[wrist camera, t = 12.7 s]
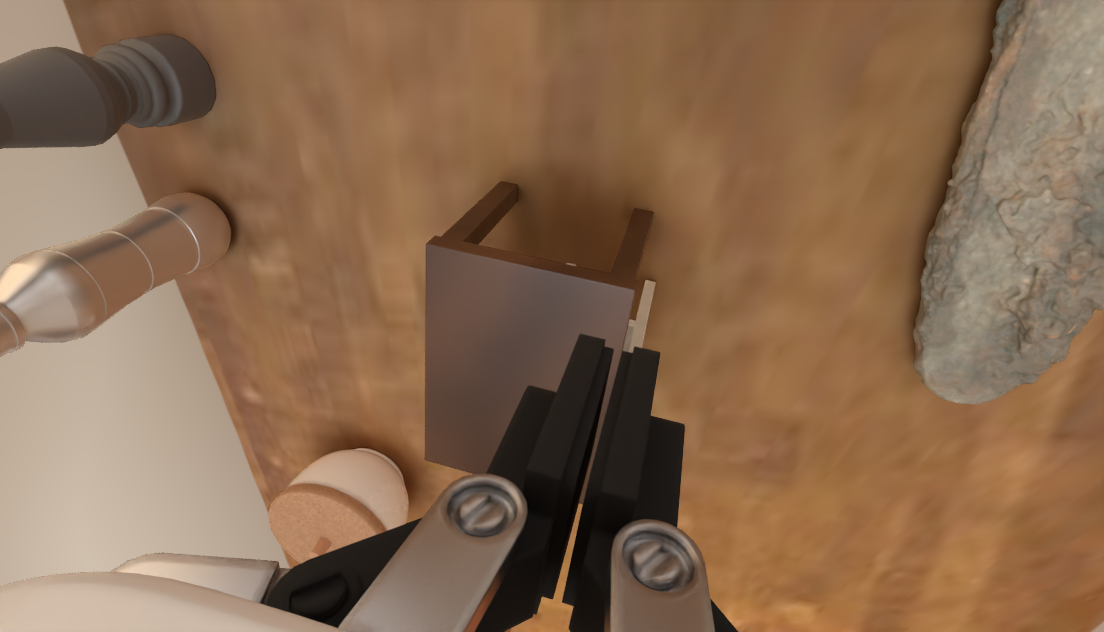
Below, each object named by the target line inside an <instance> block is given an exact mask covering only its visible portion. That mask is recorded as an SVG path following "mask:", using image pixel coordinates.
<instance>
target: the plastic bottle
mask: <svg viewBox="0 0 1104 632" xmlns="http://www.w3.org/2000/svg"><path fill="white" fill-rule="evenodd" d="M230 240H231V228H230V224H229V222H228V219H227V218H226V216H225V214H224V213H223V211H222V210H221V209H220V208H219V207H218V206H217V205H216V204H215V203H214V202H213V201H211V200H210V199H208V198H206V197H203V196H201V195H197V194H194V193H188V192H186V193H179V194H173V195H168V196H166V197H163V198H161V199H160V200H158V201H156V202H155V203H153V204H152V205H150V206H149V207H148V208H146V209H145V210H144V211H142V212H141V213H139V214H137V215H136V216H134V217H132V218H130V219H128V220H126V221H124V222H122V223H120V224H119V225H117V226H115V227H113V228H111V229H108V230H106V231H103V232H100V233H97V234H94V235H92V236H89V237H86V238H83V239H80V240H77V241H73V242H69V243H65V244H61V245H57V246H53V247H49V248H45V249H42V250H38V251H34V252H31V253H28V254H25V255H22V256H19V257H17V258H16V259H15V260H14V261H12V262H11V263H10V264H9V265H7V266H6V267H5V268H4V269H3V270H2V272H1V273H0V357H1V356H3V355H5V354H6V353H11V352H14V351H16V350H18V349H20V348H21V347H23V345H24V343H25V341H31V342H67V341H71V340H75V339H79V338H83V337H85V336H86V335H88V334H89V333H91V332H92V331H94V330H95V329H96V328H98V327H99V326H100V325H102V324H103V323H105V322H106V321H107V320H108V319H110V318H111V317H112V316H113V315H115V314H116V313H117V312H119V311H120V310H121V309H123V308H124V307H125V306H126V305H128V304H129V303H131V302H133V301H134V300H136V299H137V298H139V297H141V296H142V295H143V294H145V293H147V292H149V291H150V290H152V289H153V288H155V287H157V286H160V285H162V284H164V283H166V282H168V281H171V280H173V279H175V278H178V277H180V276H182V275H184V274H188V273H192V272H195V271H199V270H201V269H204V268H206V267H209V266H211V265H213V264H214V263H215V262H216V261H218V260H219V259H220V258H221V257H222V256H223V255H224V254H225V253H226V252H227V250H228V248H229V244H230Z"/></svg>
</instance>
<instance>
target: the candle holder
mask: <svg viewBox="0 0 1104 632" xmlns="http://www.w3.org/2000/svg"><path fill="white" fill-rule="evenodd" d="M215 98H216V95H215V81H214V79H213V76H212V73H211V71H210V68H209V65H208V64H207V62H206V61H205V60H204V58H203V57H202V55H201V54H200V53H199V51H198V50H197V49H196V48H195V47H193V46H192V45H191V44H190V43H188V42H187V41H186V40H185V39H182V38H180V37H177V36H174V35H171V34H166V35H157V36H147V37H138V38H130V39H124V40H120V41H119V42H118V43H117V44H112V45H105V46H103V47H102V48H101V49H100V50H99V51H98V52H97V53H96V54H95V55H94V57H88V56H85V55H83V54H80V53H77V52H75V51H72V50H69V49H66V48H60V47H49V48H42V49H36V50H32V51H29V52H27V53H24V54H22V55H20V56H17V57H15V58H13V59H10V60H8V61H6V62H3V63H1V64H0V149H2V148H34V147H35V148H37V147H86V146H95V145H99V144H103V143H104V142H106V141H107V140H108V139H110V138H111V137H112V136H113V135H114V134H115V133H117V132H118V130H119V129H120V127H121V126H122V125H123V124H125V123H127V124H130V125H133V126H136V127H139V128H144V127H153V126H157V127H162V126H171V125H175V124H178V123H182V122H186V121H189V120H193V119H197V118H200V117H203V116H204V115H205V114H207V113H208V112H209V111H210V110H211V109H212V106H213V103H214V101H215Z"/></svg>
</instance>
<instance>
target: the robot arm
mask: <svg viewBox="0 0 1104 632" xmlns="http://www.w3.org/2000/svg"><path fill="white" fill-rule="evenodd" d="M605 341H606V339H602V338H597V337H593V336H589V335H585V334H579V336H578V339H577V342H576V344H575V347H574V349H573V352H572V354H571V357H570V359H569V362H568V364H567V367H566V369H565V372H564V375H563V377H562V380H561V382H560V385H559V387H558V390H557V392H554V391H550V390H546V389H543V388H539V387H535V386H531V385H529V386H528V387H527V388H526V390H525V392H524V394H523V396H522V398H521V400H520V402H519V405H518V407H517V409H516V411H515V413H514V415H513V417H512V419H511V421H510V424H509V426H508V428H507V430H506V432H505V434H504V436H503V438H502V441H501V443H500V445H499V447H498V449H497V451H496V453H495V455H494V458H493V460H492V462H491V464H490V466H489V468H488V470H487V472H486V474H478V473H477V474H472V475H468V476H464V477H462V478H460V479H458V480H456V481H454V482H452V483H451V484H450V485H449V486H448V487H447V488H446V489H445V490H444V491H443V492H442V493H441V495H440V496H439V497H438V499H437V500H436V501H435V502H434V504H433V505H432V506H431V508H430V509H429V510H428V512H427V513H426V514H425V515H424V517H423V518H420V519H418V520H415V521H412V522H409V523H407V524H404V525H401V526H399V527H396V528H393V529H390V530H388V531H385V532H382V533H380V534H377V535H374V536H371V537H369V538H366V539H363V540H361V541H358V542H355V543H352V544H350V545H347V546H344V547H342V548H339V549H336V550H333V551H331V552H328V553H325V554H323V555H320V556H317V557H314V558H312V559H309V560H307V561H305V562H303V563H301V564H299V565H297V566H295V567H293V568H292V569H286V568H280V567H279V562H278V561H267V560H254V559H240V558H227V557H213V556H200V555H186V554H173V553H155V554H145V555H143V556H139V557H137V558H134V559H131V560H128V561H126V562H125V563H123V564H122V565H120V566H118V567H117V568H115V569H114V570H112V571H111V572H80V573H68V574H56V575H48V576H42V577H36V578H30V579H26V580H22V581H17V582H13V583H9V584H6V585H3V586H0V632H510V630H511V628H512V627H514V626H516V625H518V624H520V623H522V622H524V621H526V620H528V619H530V618H532V617H533V614H536V615H537V611H538V608H539V604H540V601H541V597H542V596H543V597H546V598H549V599H552V600H553V597H554V593H555V590H556V586H557V582H558V579H559V575H560V571H561V567H562V564H563V560H564V556H565V553H566V549H567V545H568V541H569V538H570V534H571V530H572V526H573V523H574V519H575V515H576V512H577V508H578V504H579V500H580V497H581V493H582V489H583V485H584V482H585V478H586V474H587V471H588V467H589V463H590V459H591V455H592V451H593V447H594V442H595V438H596V433H597V428H598V423H599V419H600V414H601V409H602V404H603V400H604V395H605V390H606V386H607V381H608V376H609V371H610V367H611V362H612V357H613V352H614V348H609V347H605ZM659 358H660V352H657V351H653V350H648V349H644V348H640V347H636V346H634V350H633V353H630V352H626V351H622V354H621V358H620V361H619V365H618V369H617V373H616V377H615V381H614V384H613V388H612V392H611V396H610V400H609V403H608V407H607V411H606V415H605V419H604V423H603V426H602V430H601V434H600V438H599V442H598V446H597V449H596V453H595V457H594V461H593V465H592V468H591V472H590V476H589V480H588V484H587V489H586V493H585V497H584V502H583V507H582V511H581V516H580V521H579V525H578V530H577V535H576V539H575V544H574V549H573V553H572V558H571V563H570V567H569V572H568V577H567V581H566V586H565V591H564V595H563V600H562V603H566V604H569V605H572V606H574V608H573V612H572V616H571V620H570V625H569V630H570V632H738V631H737V630H736V629H735V628H734V626H733V625H732V624H731V623H730V622H729V620H728V619H727V618H726V617H725V616H724V614H723V613H722V612H721V611H720V610H719V608H718V607H717V606H716V605H715V604H714V602H713V601H712V600H711V599H710V594H709V587H708V580H707V574H706V567H705V563H704V560H703V557H702V553H701V551H700V550H699V548H698V547H697V545H696V544H695V542H694V541H693V540H692V539H691V538H690V537H689V536H688V535H687V534H685V533H684V532H683V531H682V530H680V529H678V528H677V522H678V509H679V497H680V484H681V471H682V458H683V445H684V432H685V426H684V424H681V423H677V422H673V421H669V420H666V419H662V418H658V417H654V416H650V415H651V409H652V402H653V396H654V390H655V384H656V377H657V371H658V365H659Z"/></svg>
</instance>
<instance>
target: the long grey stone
mask: <svg viewBox="0 0 1104 632" xmlns="http://www.w3.org/2000/svg"><path fill="white" fill-rule="evenodd" d="M995 21H996V23H997V25H996V26H995V28H994V29H993V41H994V45H993V48H992V49H991V50H990V53H991V54H992V61H991V63H990V66H989V69H988V71H987V73H986V75H985V79H984V82H983V84H982V86H981V88H980V92H979V95H978V99H977V101H976V102H975V103H974V104H973V105H972V106H971V108H970V112H969V113H968V114H967V116H966V119H965V121H964V122H963V124H962V129H961V135H962V143H961V145H960V148H959V150H958V151H957V152H958V155H957V157H956V158H955V162H954V164H953V165H952V170H953V172H952V174H953V175H952V179H951V180H949V181H948V182H947V184H948V185H949V188H948V189H947V192H946V199H945V202H944V204H943V205H942V207H941V209H940V210H939V212H938V214H937V218H936V221H935V225H934V227H933V228H932V230H931V231H930V233H929V234H928V240H927V244H926V251H925V257H924V258H925V260H926V266H925V268H924V269H923V273H922V276H921V278H920V283H921V288H922V290H921V297H922V298H921V301H920V308H919V312H918V316H917V317H916V322H915V326H916V327H915V328H914V330H913V332H912V336H913V338H914V340H915V344H916V350H915V355H916V357H915V359H914V368H915V369H916V371H917V373H918V375H919V376H920V377H921V380H922V383H923V384H924V385H925V386H926V387H927V388H928V389H929V390H931V391H932V392H934V393H935V394H936V395H937V396H939V397H941V398H942V399H944V400H947V401H951V402H953V403H961V404H980V403H984V402H989V401H992V400H994V399H996V398H998V397H1000V396H1002V395H1004V394H1006V393H1007V392H1009V391H1010V390H1012V389H1013V388H1016V387H1018V386H1019V385H1020V384H1031V383H1035V382H1036V381H1037V380H1038V377H1039V376H1040V375H1041V374H1043V373H1045V372H1046V371H1047V370H1048V369H1049V368H1050V367H1051V365H1052V364H1054V363H1057V362H1061V361H1063V360H1064V359H1065V357H1066V356H1067V354H1068V349H1069V348H1070V343H1071V341H1072V338H1073V337H1074V336H1076V335H1077V334H1079V333H1080V331H1081V330H1082V328H1083V325H1085V324H1087V323H1088V321H1089V320H1090V319H1091V318H1092V315H1093V311H1094V309H1097V310H1104V0H1003V1H1002V2H1001V4H1000V7H999V8H998V9H997V12H996V18H995Z"/></svg>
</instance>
